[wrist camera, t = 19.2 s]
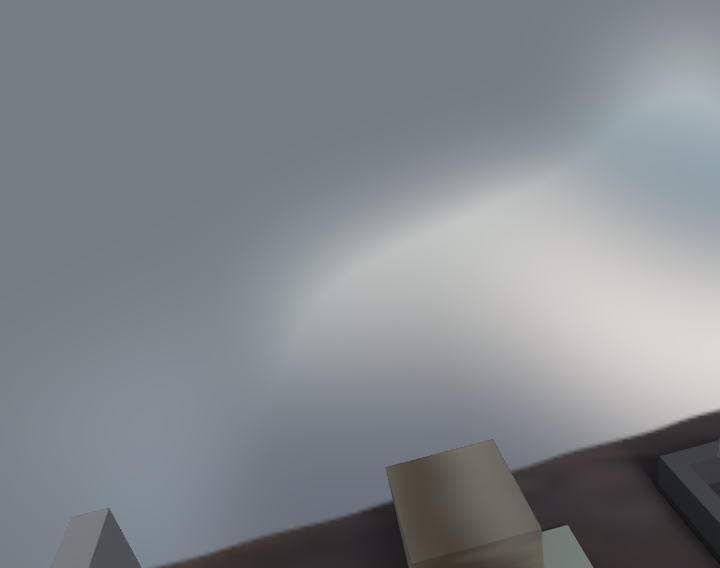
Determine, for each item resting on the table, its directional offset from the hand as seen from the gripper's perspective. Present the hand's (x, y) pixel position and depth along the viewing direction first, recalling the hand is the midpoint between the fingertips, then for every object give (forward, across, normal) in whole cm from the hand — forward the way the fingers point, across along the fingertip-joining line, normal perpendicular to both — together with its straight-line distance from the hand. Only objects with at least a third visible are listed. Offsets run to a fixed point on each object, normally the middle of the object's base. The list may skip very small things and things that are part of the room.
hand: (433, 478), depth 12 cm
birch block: (+11, +2, -24) cm, 27 cm away
